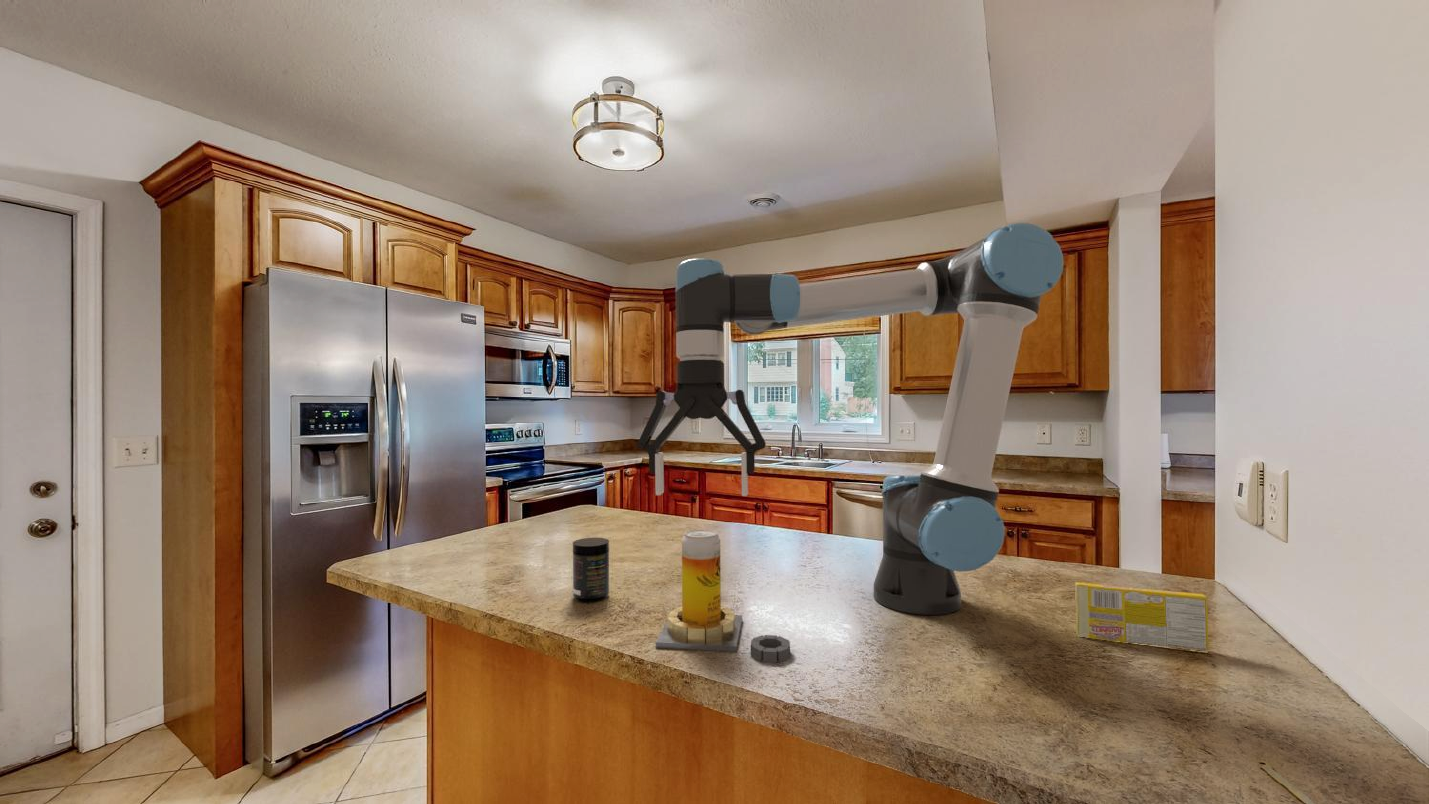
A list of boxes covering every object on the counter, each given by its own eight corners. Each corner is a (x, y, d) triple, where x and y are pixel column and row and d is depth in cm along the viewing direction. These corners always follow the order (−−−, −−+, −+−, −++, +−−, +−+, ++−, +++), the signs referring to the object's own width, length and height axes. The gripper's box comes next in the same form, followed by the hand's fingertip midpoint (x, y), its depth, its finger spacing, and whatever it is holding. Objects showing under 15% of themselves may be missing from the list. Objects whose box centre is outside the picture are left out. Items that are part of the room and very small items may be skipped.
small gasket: (789, 646, 84) (789, 636, 84) (790, 663, 79) (790, 652, 79) (752, 644, 85) (752, 634, 85) (749, 661, 79) (749, 650, 79)
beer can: (716, 637, 85) (716, 538, 85) (677, 634, 87) (677, 536, 87) (723, 622, 91) (723, 529, 91) (687, 619, 93) (687, 528, 93)
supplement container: (617, 596, 106) (616, 540, 106) (588, 606, 101) (588, 548, 101) (593, 588, 110) (593, 535, 110) (565, 598, 105) (564, 542, 105)
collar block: (742, 620, 94) (742, 603, 94) (736, 651, 82) (735, 632, 82) (671, 617, 96) (671, 600, 96) (655, 647, 84) (655, 628, 84)
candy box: (1203, 649, 83) (1203, 593, 83) (1209, 655, 81) (1209, 597, 81) (1074, 632, 89) (1074, 580, 89) (1077, 638, 87) (1077, 584, 87)
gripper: (779, 360, 91) (781, 491, 91) (629, 363, 94) (631, 490, 94) (779, 356, 84) (781, 499, 84) (616, 359, 87) (618, 497, 87)
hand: (701, 494), depth 89 cm, fingers open, 13 cm apart
